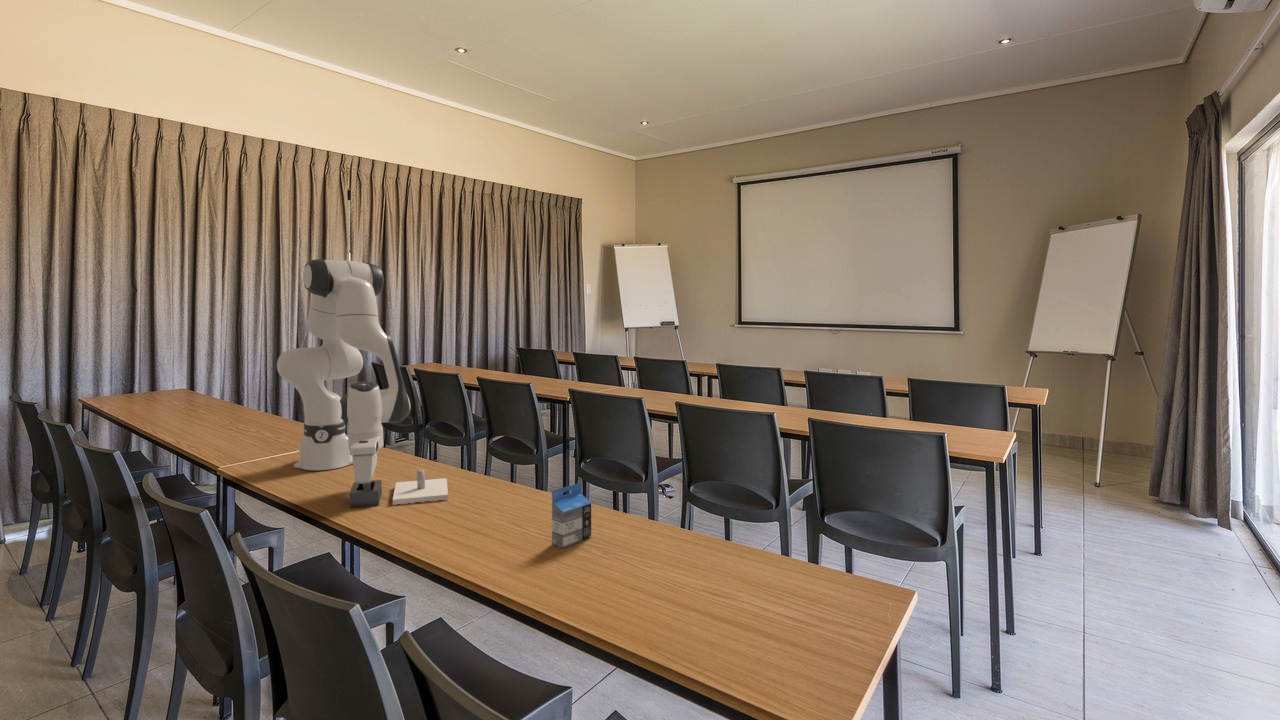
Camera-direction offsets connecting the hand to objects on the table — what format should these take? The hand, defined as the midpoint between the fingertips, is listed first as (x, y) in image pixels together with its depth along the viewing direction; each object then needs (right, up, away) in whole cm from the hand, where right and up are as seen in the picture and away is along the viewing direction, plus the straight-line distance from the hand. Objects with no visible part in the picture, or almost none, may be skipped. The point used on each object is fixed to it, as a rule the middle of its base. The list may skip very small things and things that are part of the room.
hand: (367, 490), depth 167 cm
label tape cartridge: (+60, -5, -30) cm, 67 cm away
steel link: (+1, -2, -4) cm, 4 cm away
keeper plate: (+14, -2, +3) cm, 14 cm away
